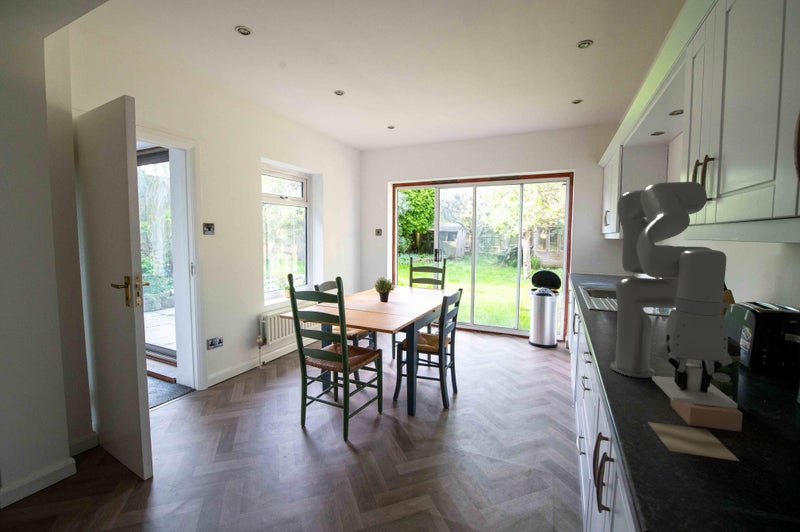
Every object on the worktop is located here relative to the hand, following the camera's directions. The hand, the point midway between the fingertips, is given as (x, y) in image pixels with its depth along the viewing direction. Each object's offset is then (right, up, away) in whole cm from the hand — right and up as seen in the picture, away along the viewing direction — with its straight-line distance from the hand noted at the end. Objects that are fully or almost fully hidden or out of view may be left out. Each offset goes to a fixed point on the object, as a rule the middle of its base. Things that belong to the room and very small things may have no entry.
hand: (691, 387), depth 77 cm
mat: (0, -12, 0) cm, 12 cm away
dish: (+11, -11, +10) cm, 18 cm away
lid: (0, -1, 0) cm, 1 cm away
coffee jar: (+22, -11, +18) cm, 30 cm away
